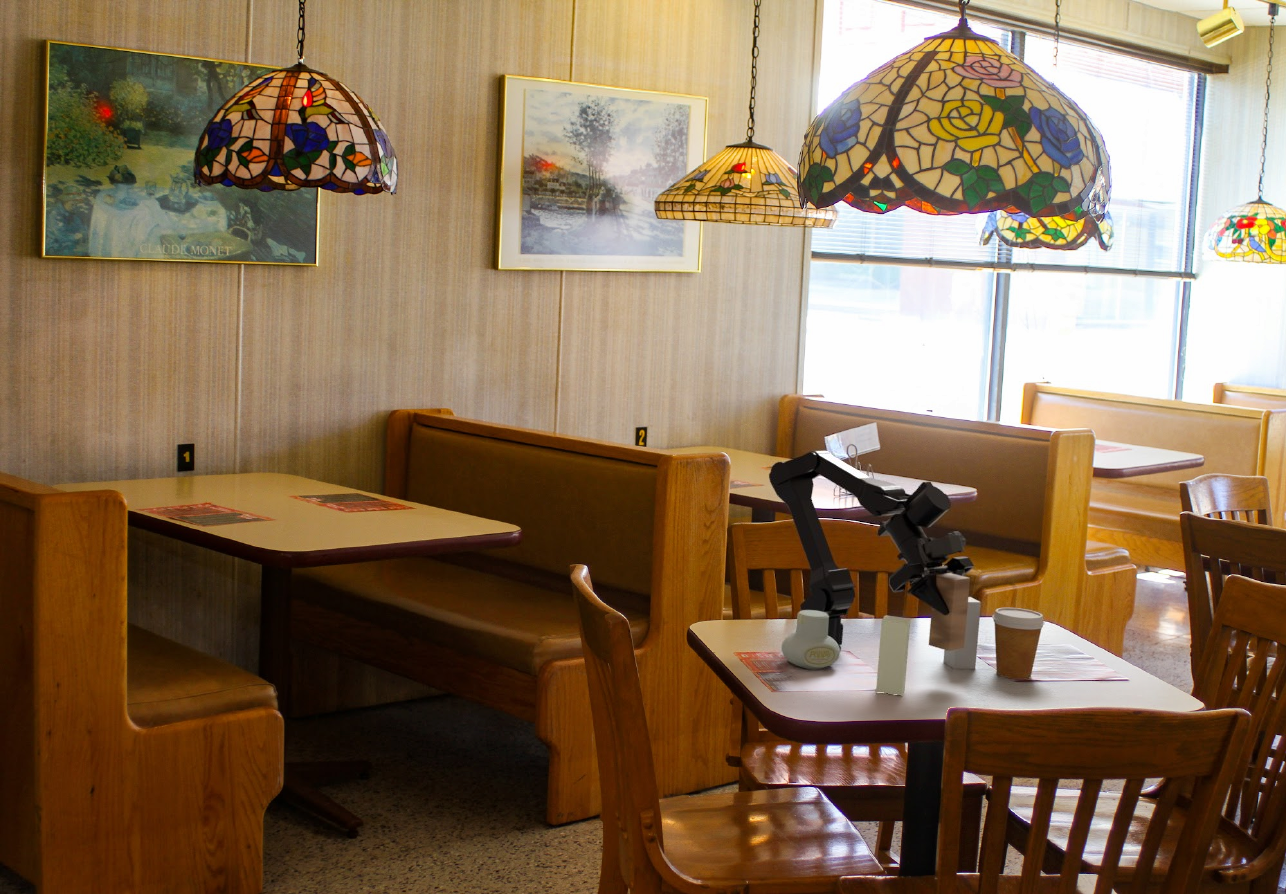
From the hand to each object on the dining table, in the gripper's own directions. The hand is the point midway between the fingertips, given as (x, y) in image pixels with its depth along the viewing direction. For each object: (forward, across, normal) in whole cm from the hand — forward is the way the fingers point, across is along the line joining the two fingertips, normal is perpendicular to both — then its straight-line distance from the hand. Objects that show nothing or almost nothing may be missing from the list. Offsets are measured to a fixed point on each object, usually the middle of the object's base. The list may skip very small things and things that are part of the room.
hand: (955, 612), depth 229 cm
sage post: (+7, -13, +12) cm, 19 cm away
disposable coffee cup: (+11, +18, +8) cm, 22 cm away
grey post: (+4, +14, +15) cm, 21 cm away
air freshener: (-6, -13, +26) cm, 29 cm away
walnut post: (+4, 0, +6) cm, 7 cm away
